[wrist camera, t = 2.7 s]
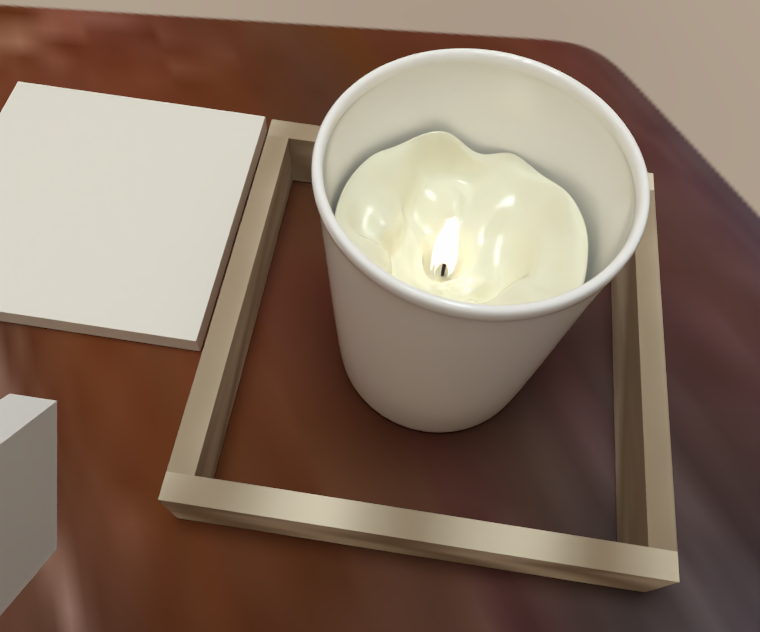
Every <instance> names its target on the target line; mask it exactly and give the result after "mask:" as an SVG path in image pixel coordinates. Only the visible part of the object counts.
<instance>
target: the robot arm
mask: <svg viewBox="0 0 760 632" xmlns="http://www.w3.org/2000/svg"><path fill="white" fill-rule="evenodd" d="M56 550H57V401H55V400H48V399H41V398H35V397H28V396H22V395H15V394H8V395H7V396H5V397H4V398H2V399H1V400H0V615H1V614H2V613H3V612H4V611H5V609H6V608H7V607H8V606H9V605H10V604H11V602H12V601H13V600H14V599H15V598H16V597H17V595H18V594H19V593H20V592H21V591H22V589H23V588H24V587H25V586H26V585H27V584H28V582H29V581H30V580H31V579H32V578H33V577H34V575H35V574H36V573H37V572H38V571H39V570H40V568H41V567H42V566H43V565H44V564H45V563H46V561H47V560H48V559H49V558H50V557H51V555H52V554H53V553H54V552H55V551H56Z"/></svg>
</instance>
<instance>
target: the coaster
mask: <svg viewBox="0 0 760 632" xmlns="http://www.w3.org/2000/svg"><path fill="white" fill-rule="evenodd" d="M266 133H267V127H266V119H265V117H264V116H257V115H250V114H243V113H236V112H229V111H222V110H215V109H208V108H201V107H194V106H187V105H180V104H173V103H166V102H158V101H151V100H144V99H137V98H130V97H123V96H116V95H109V94H102V93H95V92H88V91H81V90H74V89H67V88H60V87H53V86H46V85H39V84H32V83H25V82H18V83H17V84H16V86H15V88H14V90H13V92H12V93H11V95H10V97H9V99H8V100H7V102H6V104H5V106H4V107H3V109H2V111H1V113H0V321H4V322H10V323H17V324H24V325H30V326H37V327H43V328H50V329H56V330H63V331H70V332H76V333H83V334H89V335H96V336H102V337H109V338H116V339H122V340H129V341H135V342H142V343H148V344H155V345H162V346H168V347H175V348H181V349H188V350H194V351H201V348H202V345H203V341H204V338H205V335H206V331H207V328H208V325H209V322H210V318H211V315H212V312H213V308H214V305H215V302H216V298H217V295H218V292H219V288H220V285H221V282H222V278H223V275H224V272H225V268H226V265H227V262H228V259H229V255H230V252H231V249H232V245H233V242H234V239H235V235H236V232H237V229H238V225H239V222H240V219H241V215H242V212H243V209H244V205H245V202H246V199H247V196H248V192H249V189H250V186H251V182H252V179H253V176H254V172H255V169H256V166H257V162H258V159H259V156H260V152H261V149H262V146H263V142H264V139H265V136H266Z"/></svg>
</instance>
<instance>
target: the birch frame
mask: <svg viewBox="0 0 760 632" xmlns="http://www.w3.org/2000/svg"><path fill="white" fill-rule="evenodd" d="M320 127H321V126H315V125H308V124H301V123H294V122H287V121H280V120H273V119H272V121H271V125H270V128H269V131H268V135H267V138H266V141H265V145H264V148H263V151H262V155H261V158H260V161H259V165H258V168H257V171H256V175H255V178H254V181H253V185H252V188H251V191H250V195H249V198H248V201H247V205H246V208H245V211H244V215H243V218H242V221H241V225H240V228H239V231H238V235H237V238H236V241H235V245H234V248H233V251H232V255H231V258H230V261H229V265H228V268H227V271H226V275H225V278H224V281H223V285H222V288H221V291H220V295H219V298H218V301H217V305H216V308H215V311H214V315H213V318H212V321H211V325H210V328H209V331H208V335H207V338H206V341H205V345H204V348H203V351H202V355H201V358H200V361H199V365H198V368H197V372H196V375H195V378H194V382H193V385H192V388H191V392H190V395H189V398H188V402H187V405H186V408H185V412H184V415H183V418H182V422H181V425H180V428H179V432H178V435H177V438H176V442H175V445H174V448H173V452H172V455H171V458H170V462H169V465H168V468H167V472H166V475H165V478H164V482H163V485H162V488H161V492H160V495H159V498H158V500H159V501H160V502H161V503H162V504H163V505H164V506H165V507H166V508H167V509H168V510H169V511H170V512H171V513H172V514H173V515H175V516H176V517H177V518H181V519H187V520H193V521H200V522H206V523H212V524H218V525H225V526H231V527H237V528H244V529H250V530H256V531H262V532H269V533H275V534H281V535H288V536H294V537H300V538H306V539H313V540H319V541H325V542H332V543H338V544H344V545H350V546H357V547H363V548H369V549H376V550H382V551H388V552H395V553H401V554H407V555H413V556H420V557H426V558H432V559H439V560H445V561H451V562H457V563H464V564H470V565H476V566H483V567H489V568H495V569H501V570H508V571H514V572H520V573H527V574H533V575H539V576H545V577H552V578H558V579H564V580H571V581H577V582H583V583H589V584H596V585H602V586H608V587H615V588H621V589H627V590H633V591H640V592H648V591H651V590H654V589H658V588H661V587H665V586H668V585H672V584H675V583H679V567H678V551H677V536H676V520H675V505H674V489H673V474H672V458H671V443H670V427H669V412H668V396H667V381H666V365H665V350H664V334H663V319H662V303H661V288H660V272H659V257H658V241H657V226H656V210H655V195H654V179H653V173H648V178H649V186H650V207H649V214H648V219H647V224H646V227H645V230H644V233H643V236H642V238H641V240H640V242H639V245H638V246H637V248H636V250H635V252H634V253H633V255H632V257H631V258H630V260H629V261H628V262H627V264H626V265H625V266H624V267H623V269H622V270H621V271H620V272H619V273H618V274H617V275H616V276H615V277H614V278H613V279H612V280H611V301H612V343H613V386H614V428H615V470H616V512H617V542H613V541H607V540H600V539H594V538H587V537H581V536H575V535H568V534H562V533H556V532H549V531H543V530H537V529H530V528H524V527H518V526H511V525H505V524H498V523H492V522H486V521H479V520H473V519H467V518H460V517H454V516H448V515H441V514H435V513H428V512H422V511H416V510H409V509H403V508H397V507H390V506H384V505H378V504H371V503H365V502H359V501H352V500H346V499H339V498H333V497H327V496H320V495H314V494H308V493H301V492H295V491H289V490H282V489H276V488H269V487H263V486H257V485H250V484H244V483H238V482H231V481H225V480H219V479H214V477H215V473H216V469H217V465H218V461H219V458H220V454H221V450H222V446H223V443H224V439H225V435H226V431H227V427H228V424H229V420H230V416H231V412H232V409H233V405H234V401H235V397H236V393H237V390H238V386H239V382H240V378H241V375H242V371H243V367H244V363H245V359H246V356H247V352H248V348H249V344H250V340H251V337H252V333H253V329H254V325H255V322H256V318H257V314H258V310H259V306H260V303H261V299H262V295H263V291H264V288H265V284H266V280H267V276H268V272H269V269H270V265H271V261H272V257H273V253H274V250H275V246H276V242H277V238H278V235H279V231H280V227H281V223H282V219H283V216H284V212H285V208H286V204H287V201H288V197H289V193H290V189H291V185H292V182H293V180H296V181H303V182H309V183H312V175H311V166H312V155H313V149H314V144H315V140H316V137H317V134H318V131H319V129H320Z"/></svg>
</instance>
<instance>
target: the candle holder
mask: <svg viewBox="0 0 760 632" xmlns="http://www.w3.org/2000/svg"><path fill="white" fill-rule="evenodd" d="M311 175H312V186H313V192H314V197H315V201H316V205H317V208H318V211H319V216H320V222H321V229H322V236H323V243H324V250H325V256H326V263H327V270H328V277H329V284H330V291H331V298H332V304H333V311H334V318H335V325H336V331H337V337H338V343H339V349H340V354H341V358H342V362H343V365H344V368H345V371H346V373H347V375H348V377H349V379H350V381H351V383H352V385H353V386H354V388H355V389H356V391H357V392H358V394H359V395H360V396H361V397H362V398H363V400H364V401H365V402H366V403H367V404H368V405H369V406H370V407H372V408H373V409H374V410H375V411H377V412H378V413H379V414H381V415H382V416H384V417H385V418H387V419H389V420H391V421H393V422H395V423H397V424H399V425H402V426H404V427H407V428H410V429H414V430H419V431H424V432H435V433H443V432H454V431H460V430H464V429H468V428H471V427H473V426H476V425H478V424H481V423H483V422H485V421H486V420H488V419H490V418H491V417H493V416H494V415H496V414H497V413H498V412H500V411H501V410H502V409H503V408H504V407H505V406H506V405H507V404H508V403H509V402H510V401H511V400H512V399H513V398H514V397H515V396H516V395H517V394H518V392H519V391H520V390H521V389H522V388H523V386H524V385H525V384H526V383H527V382H528V380H529V379H530V378H531V377H532V376H533V374H534V373H535V372H536V371H537V369H538V368H539V367H540V366H541V364H542V363H543V362H544V361H545V359H546V358H547V357H548V356H549V355H550V353H551V352H552V351H553V350H554V348H555V347H556V346H557V345H558V343H559V342H560V341H561V340H562V338H563V337H564V336H565V335H566V333H567V332H568V331H569V330H570V328H571V327H572V326H573V325H574V324H575V322H576V321H577V320H578V319H579V317H580V316H581V315H582V314H583V312H584V311H585V310H586V309H587V307H588V306H589V305H590V304H591V302H592V301H593V300H594V299H595V297H596V296H597V295H598V294H599V293H600V291H601V290H602V289H603V288H604V286H605V285H606V284H608V283H609V282H610V281H611V280H612V279H613V278H614V277H615V276H616V275H617V274H618V273H619V272H620V271H621V270H622V269H623V267H624V266H625V265H626V264H627V262H628V261H629V260H630V258H631V257H632V255H633V253H634V252H635V250H636V248H637V246H638V245H639V242H640V240H641V238H642V236H643V233H644V230H645V227H646V224H647V219H648V214H649V207H650V186H649V178H648V173H647V169H646V165H645V162H644V159H643V156H642V154H641V152H640V149H639V147H638V145H637V143H636V141H635V139H634V138H633V136H632V134H631V133H630V131H629V130H628V128H627V127H626V125H625V124H624V123H623V121H622V120H621V119H620V118H619V116H618V115H617V114H616V113H615V112H614V111H613V110H612V109H611V108H610V107H609V106H608V105H607V104H606V103H605V102H604V101H603V100H602V99H601V98H600V97H599V96H597V95H596V94H595V93H594V92H592V91H591V90H590V89H588V88H587V87H586V86H584V85H583V84H581V83H580V82H578V81H576V80H575V79H573V78H571V77H570V76H568V75H566V74H564V73H562V72H560V71H558V70H556V69H554V68H552V67H550V66H547V65H545V64H542V63H540V62H537V61H534V60H531V59H528V58H525V57H521V56H518V55H514V54H509V53H504V52H499V51H492V50H484V49H467V48H458V49H442V50H434V51H427V52H422V53H418V54H413V55H410V56H406V57H403V58H400V59H397V60H395V61H392V62H390V63H387V64H385V65H383V66H381V67H379V68H377V69H375V70H373V71H372V72H370V73H368V74H367V75H365V76H364V77H362V78H361V79H359V80H358V81H357V82H355V83H354V84H353V85H352V86H350V87H349V88H348V89H347V90H346V91H345V92H344V93H343V94H342V95H341V96H340V97H339V98H338V100H337V101H336V102H335V103H334V105H333V106H332V107H331V109H330V110H329V112H328V113H327V115H326V117H325V118H324V120H323V122H322V124H321V127H320V129H319V131H318V134H317V137H316V140H315V144H314V149H313V155H312V166H311Z"/></svg>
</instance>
